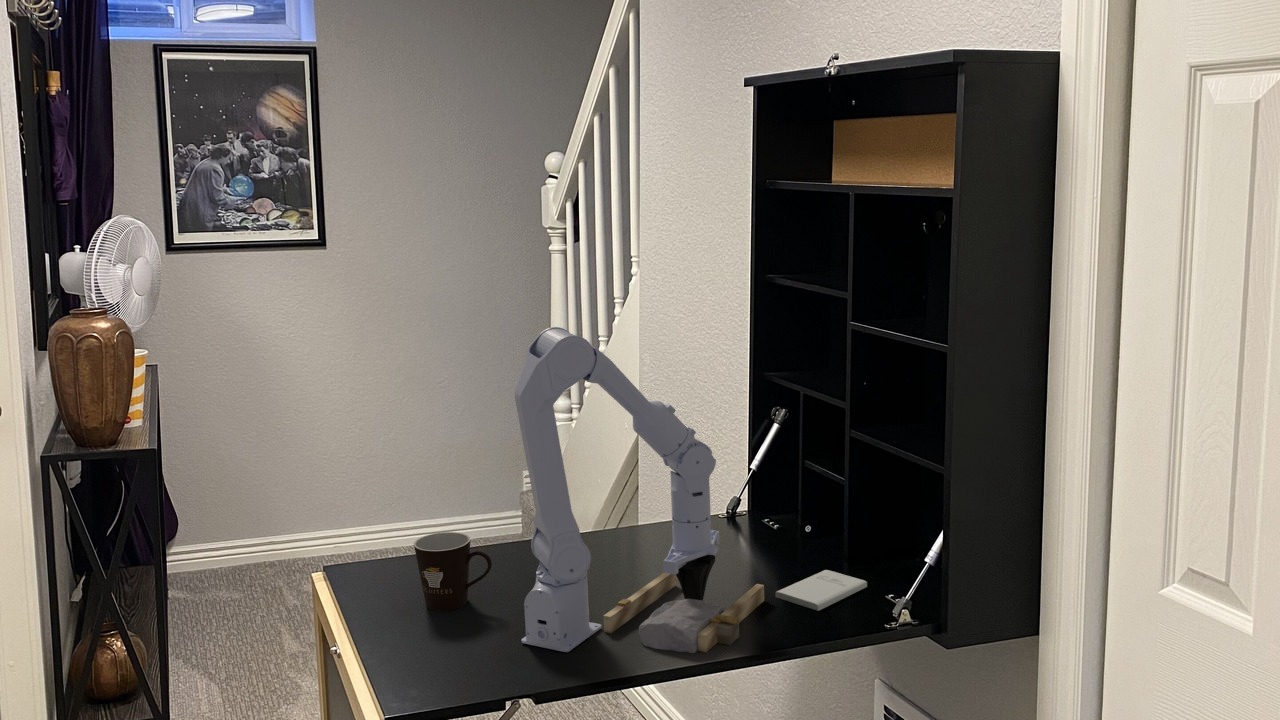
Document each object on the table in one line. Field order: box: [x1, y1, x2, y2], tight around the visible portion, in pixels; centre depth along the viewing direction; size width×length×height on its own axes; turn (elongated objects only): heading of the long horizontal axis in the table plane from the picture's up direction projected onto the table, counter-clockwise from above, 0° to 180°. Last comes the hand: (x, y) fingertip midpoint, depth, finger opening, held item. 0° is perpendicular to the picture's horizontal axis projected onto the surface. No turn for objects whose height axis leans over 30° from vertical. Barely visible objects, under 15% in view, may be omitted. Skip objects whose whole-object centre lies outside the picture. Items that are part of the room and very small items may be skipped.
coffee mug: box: [413, 531, 493, 612], centre depth 180 cm, size 12×9×10 cm
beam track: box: [603, 572, 765, 653], centre depth 172 cm, size 20×19×4 cm
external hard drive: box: [774, 569, 868, 612], centre depth 180 cm, size 2×8×12 cm
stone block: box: [638, 598, 725, 654], centre depth 167 cm, size 12×5×10 cm
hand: (694, 603), depth 175 cm, fingers closed
